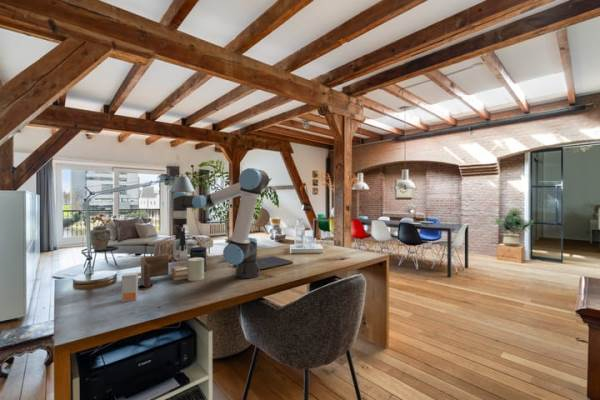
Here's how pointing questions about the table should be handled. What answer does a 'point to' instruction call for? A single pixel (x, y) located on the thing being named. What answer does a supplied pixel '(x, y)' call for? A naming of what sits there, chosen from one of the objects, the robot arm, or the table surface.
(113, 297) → the table surface
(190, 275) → the can
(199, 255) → the storage jar
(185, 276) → the oak offcut
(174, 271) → the birch offcut
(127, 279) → the skincare box
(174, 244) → the light bulb box
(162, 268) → the walnut rack
